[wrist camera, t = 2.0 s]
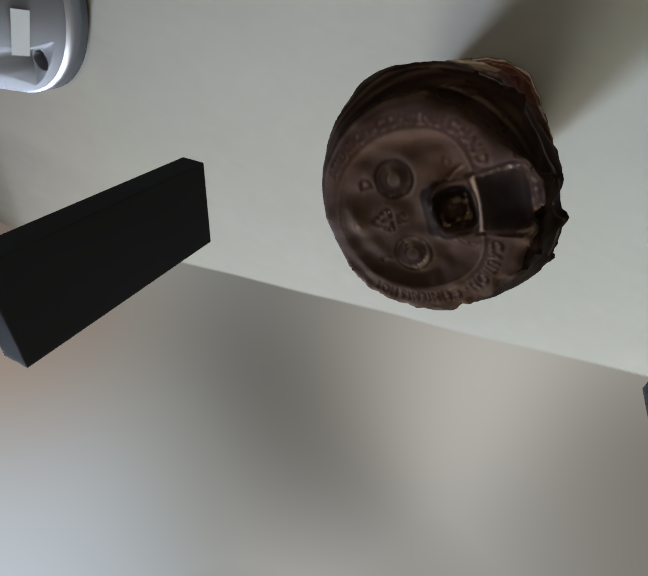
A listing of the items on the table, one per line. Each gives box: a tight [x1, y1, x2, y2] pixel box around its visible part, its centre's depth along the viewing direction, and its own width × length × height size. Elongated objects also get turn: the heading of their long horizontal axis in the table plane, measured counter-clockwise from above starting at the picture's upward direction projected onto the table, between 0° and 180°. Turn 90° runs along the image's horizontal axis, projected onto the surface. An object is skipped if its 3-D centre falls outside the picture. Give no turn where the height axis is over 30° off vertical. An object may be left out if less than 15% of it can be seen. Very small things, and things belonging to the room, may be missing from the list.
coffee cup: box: [322, 57, 569, 310], centre depth 18 cm, size 9×8×13 cm
